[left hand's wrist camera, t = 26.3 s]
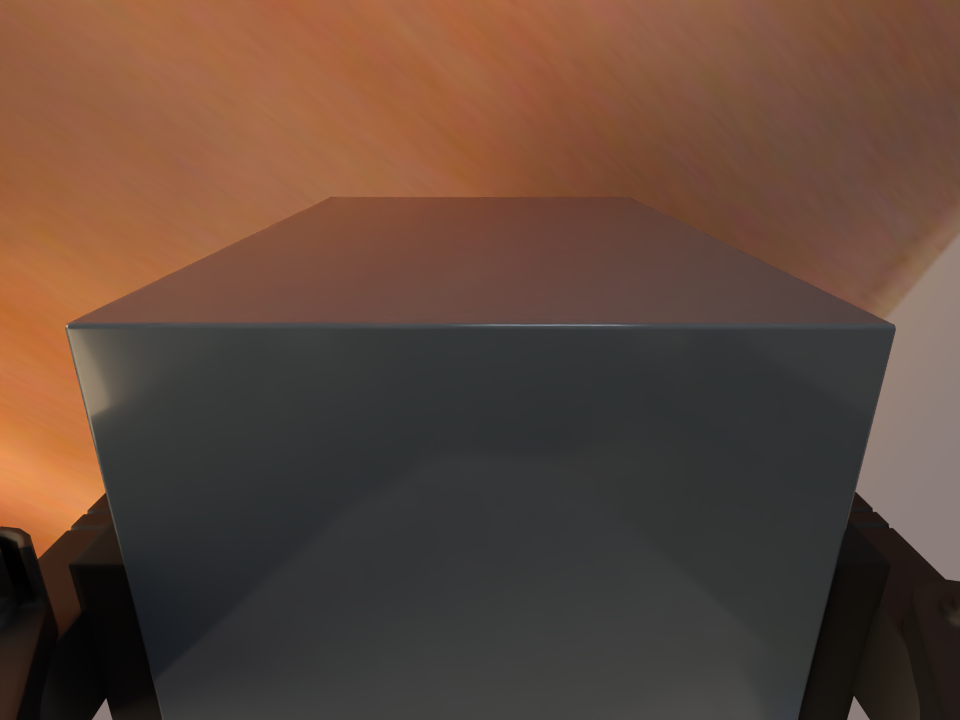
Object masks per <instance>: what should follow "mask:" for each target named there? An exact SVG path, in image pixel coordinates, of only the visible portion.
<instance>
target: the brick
mask: <svg viewBox="0 0 960 720" xmlns="http://www.w3.org/2000/svg"><path fill="white" fill-rule="evenodd" d="M895 331H896V329H895V325H894V324H891V323H889V322H887V321H885V320H883V319H881V318H879V317H877V316H875V315H873V314H871V313H869V312H867V311H865V310H863V309H860V308H858V307H856V306H854V305H852V304H850V303H848V302H846V301H844V300H842V299H840V298H838V297H836V296H834V295H831V294H829V293H827V292H825V291H823V290H821V289H819V288H817V287H815V286H813V285H811V284H809V283H807V282H805V281H803V280H800V279H798V278H796V277H794V276H792V275H790V274H788V273H786V272H784V271H782V270H780V269H778V268H776V267H774V266H771V265H769V264H767V263H765V262H763V261H761V260H759V259H757V258H755V257H753V256H751V255H749V254H747V253H745V252H743V251H740V250H738V249H736V248H734V247H732V246H730V245H728V244H726V243H724V242H722V241H720V240H718V239H716V238H714V237H711V236H709V235H707V234H705V233H703V232H701V231H699V230H697V229H695V228H693V227H691V226H689V225H687V224H685V223H683V222H680V221H678V220H676V219H674V218H672V217H670V216H668V215H666V214H664V213H662V212H660V211H658V210H656V209H654V208H651V207H649V206H647V205H645V204H643V203H641V202H639V201H637V200H635V199H633V198H631V197H330V198H327V199H325V200H323V201H321V202H319V203H317V204H315V205H313V206H311V207H309V208H307V209H305V210H302V211H300V212H298V213H296V214H294V215H292V216H290V217H288V218H286V219H284V220H282V221H280V222H277V223H275V224H273V225H271V226H269V227H267V228H265V229H263V230H261V231H259V232H257V233H255V234H252V235H250V236H248V237H246V238H244V239H242V240H240V241H238V242H236V243H234V244H232V245H230V246H228V247H225V248H223V249H221V250H219V251H217V252H215V253H213V254H211V255H209V256H207V257H205V258H203V259H200V260H198V261H196V262H194V263H192V264H190V265H188V266H186V267H184V268H182V269H180V270H178V271H175V272H173V273H171V274H169V275H167V276H165V277H163V278H161V279H159V280H157V281H155V282H153V283H150V284H148V285H146V286H144V287H142V288H140V289H138V290H136V291H134V292H132V293H130V294H128V295H126V296H123V297H121V298H119V299H117V300H115V301H113V302H111V303H109V304H107V305H105V306H103V307H101V308H98V309H96V310H94V311H92V312H90V313H88V314H86V315H84V316H82V317H80V318H78V319H76V320H73V321H71V322H69V323H67V324H66V333H67V337H68V341H69V345H70V349H71V353H72V357H73V361H74V365H75V369H76V373H77V377H78V381H79V385H80V389H81V393H82V397H83V402H84V406H85V410H86V414H87V418H88V422H89V426H90V430H91V434H92V438H93V442H94V446H95V450H96V454H97V458H98V462H99V466H100V470H101V474H102V478H103V482H104V486H105V490H106V494H107V498H108V502H109V506H110V511H111V515H112V519H113V523H114V527H115V531H116V535H117V539H118V543H119V547H120V551H121V555H122V559H123V563H124V567H125V571H126V575H127V579H128V583H129V587H130V591H131V595H132V599H133V603H134V607H135V611H136V615H137V620H138V624H139V628H140V632H141V636H142V640H143V644H144V648H145V652H146V656H147V660H148V664H149V668H150V672H151V676H152V680H153V684H154V688H155V692H156V696H157V700H158V704H159V708H160V712H161V716H162V720H798V717H799V713H800V709H801V705H802V701H803V697H804V693H805V689H806V685H807V681H808V677H809V673H810V669H811V665H812V661H813V657H814V653H815V649H816V645H817V641H818V637H819V633H820V629H821V625H822V621H823V617H824V613H825V609H826V605H827V601H828V598H829V594H830V590H831V586H832V582H833V578H834V574H835V570H836V566H837V562H838V558H839V554H840V550H841V546H842V542H843V538H844V534H845V530H846V526H847V522H848V518H849V514H850V510H851V506H852V502H853V498H854V494H855V490H856V486H857V482H858V478H859V474H860V470H861V466H862V462H863V458H864V454H865V450H866V446H867V442H868V438H869V434H870V430H871V426H872V422H873V418H874V414H875V410H876V406H877V402H878V398H879V394H880V390H881V386H882V383H883V379H884V375H885V371H886V367H887V362H888V359H889V355H890V351H891V347H892V342H893V339H894V335H895Z"/></svg>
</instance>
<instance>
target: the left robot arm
mask: <svg viewBox="0 0 960 720" xmlns="http://www.w3.org/2000/svg"><path fill="white" fill-rule="evenodd" d="M854 696H855V698H856V699H857V701H858V702H859V704H860V705H861V707H862V708H863V710H864V711H865V713H866V714H867V716H868V718H869V719H870V720H960V581H953V580H946V579H945V578H944V577H943V576H942V575H940V574H939V573H938V572H937V571H936V570H935V569H934V568H933V567H932V566H931V565H930V564H929V563H928V562H927V561H926V560H925V559H924V558H923V557H922V556H921V555H920V554H919V553H918V552H917V551H916V550H915V549H914V548H913V547H912V546H911V545H910V544H909V543H908V542H907V541H906V540H905V539H904V538H903V537H901V536H900V535H899V534H898V533H897V532H896V531H895V530H894V529H893V528H889V524H888V523H887V522H886V521H885V520H884V519H883V518H882V517H881V516H880V515H879V514H878V513H877V512H873V510H872V507H871V506H870V505H869V504H868V503H867V502H866V501H865V500H863V499H862V498H861V497H860V496H859V495H858V494H857V493H856V492H855V494H854V498H853V502H852V506H851V510H850V514H849V518H848V522H847V526H846V530H845V534H844V538H843V542H842V546H841V550H840V554H839V558H838V562H837V566H836V570H835V574H834V578H833V582H832V586H831V590H830V594H829V598H828V601H827V605H826V609H825V613H824V617H823V621H822V625H821V629H820V633H819V637H818V641H817V645H816V649H815V653H814V657H813V661H812V665H811V669H810V673H809V677H808V681H807V685H806V689H805V693H804V697H803V701H802V705H801V709H800V713H799V717H798V720H847V718H848V714H849V711H850V707H851V704H852V700H853V697H854ZM105 699H107V702H108V705H109V709H110V712H111V716H112V719H113V720H162V716H161V712H160V708H159V704H158V700H157V696H156V692H155V688H154V684H153V680H152V676H151V672H150V668H149V664H148V660H147V656H146V652H145V648H144V644H143V640H142V636H141V632H140V628H139V624H138V620H137V615H136V611H135V607H134V603H133V599H132V595H131V591H130V587H129V583H128V579H127V575H126V571H125V567H124V563H123V559H122V555H121V551H120V547H119V543H118V539H117V535H116V531H115V527H114V523H113V519H112V515H111V511H110V506H109V502H108V498H107V494H106V493H105V494H104V495H103V496H102V497H101V498H100V499H99V500H98V501H97V502H96V503H95V504H94V505H93V506H92V507H91V508H90V509H89V510H88V513H87V514H84V515H83V516H82V517H81V518H80V519H78V520H77V521H76V522H75V523H74V524H73V525H72V526H71V531H66V532H65V533H64V534H63V535H62V536H61V537H60V538H59V539H58V540H57V541H56V542H55V543H54V544H53V545H52V546H51V547H50V548H49V549H48V550H47V551H46V552H45V553H44V554H43V555H42V556H41V557H40V558H39V559H38V560H37V556H36V553H35V550H34V547H33V543H32V540H31V537H30V535H29V534H28V533H26V532H24V531H23V530H21V529H20V528H11V527H0V720H92V719H93V717H94V716H95V714H96V713H97V711H98V710H99V708H100V707H101V705H102V703H103V702H104V700H105Z"/></svg>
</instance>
